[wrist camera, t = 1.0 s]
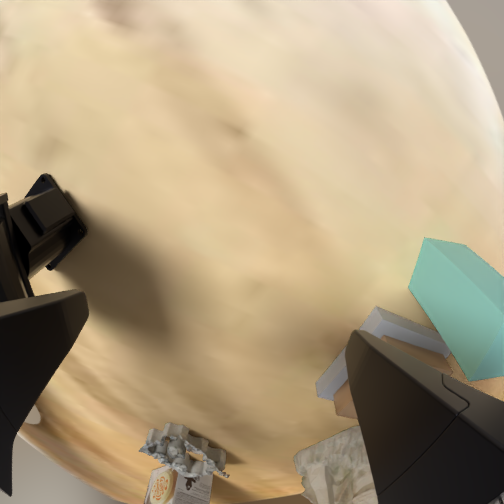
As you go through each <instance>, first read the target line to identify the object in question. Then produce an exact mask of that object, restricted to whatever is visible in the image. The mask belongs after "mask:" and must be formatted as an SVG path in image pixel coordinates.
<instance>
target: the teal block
mask: <svg viewBox="0 0 504 504" xmlns="http://www.w3.org/2000/svg"><path fill="white" fill-rule="evenodd" d="M408 288H409V290H410V291H411V292H412V294H413V295H414V297H415V298H416V300H417V301H418V302H419V304H420V305H421V307H422V308H423V310H424V311H425V313H426V314H427V315H428V317H429V318H430V320H431V321H432V323H433V324H434V326H435V327H436V329H437V330H438V332H439V334H440V335H441V337H442V338H443V340H444V341H445V343H446V344H447V346H448V348H449V349H450V351H451V352H452V354H453V356H454V357H455V359H456V361H457V362H458V364H459V366H460V367H461V369H462V371H463V372H464V374H465V376H466V377H467V379H468V381H476V380H483V379H489V378H495V377H500V376H504V277H503V276H502V275H501V274H499V273H498V272H497V271H496V270H495V269H494V268H493V267H491V266H490V265H489V264H488V263H487V262H485V261H484V260H483V259H482V258H481V257H479V256H478V255H477V254H476V253H475V252H473V251H472V250H471V249H470V248H468V247H467V246H466V245H463V244H458V243H453V242H447V241H442V240H436V239H431V238H425V237H424V241H423V244H422V247H421V251H420V254H419V257H418V260H417V263H416V266H415V269H414V272H413V275H412V278H411V281H410V284H409V286H408Z"/></svg>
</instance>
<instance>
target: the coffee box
mask: <svg viewBox="0 0 504 504" xmlns="http://www.w3.org/2000/svg"><path fill="white" fill-rule="evenodd" d="M212 480H213V474H211V475H210V476H209V475H208V474H206V475H203V477H201V476H197V477H184V476H182V475H181V474H179V473H178V472H177V471H176V470H175V469H173V468H170V467H168V466H167V465H166V466H164V467H161V468H158V469H155V470H152V473H151V477H150V481H149V484H148V488H147V493H146V496H145V501H144V504H209V503H210V495H211V488H212Z"/></svg>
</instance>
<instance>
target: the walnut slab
mask: <svg viewBox="0 0 504 504" xmlns="http://www.w3.org/2000/svg"><path fill="white" fill-rule="evenodd" d="M381 340H383V341H385V342H387V343H389V344H390V345H392V346H394V347H396V348H398V349H400V350H401V351H403V352H405V353H407V354H409V355H411V356H412V357H414V358H416V359H418V360H420V361H422V362H423V363H425V364H427V365H429V366H431V367H433V368H434V369H436V370H438V371H440V372H441V373H445V374H446V375H448V376H450V375H451V374H452V373H453V371H452V369H451V368H450V366H449V364H448V362H447V360H446V359H445V357H444V355H443V354H440V353H437V352H434V351H431V350H428V349H425V348H422V347H419V346H416V345H413V344H410V343H407V342H404V341H401V340H398V339H395V338H392V337H389V336H386V335H383V336H382V337H381ZM333 397H334V403H335V409H336V415H338V416H343V417H348V418H354V419H358V418H357V414H356V410H355V407H354V403H353V400H352V396H351V392H350V388H349V381H348V379H347V380H346V381H345V382H344V384H343V385H342V386H341V387H340V388H339V389H338V390H337V391H336V393H335V394H334V395H333Z"/></svg>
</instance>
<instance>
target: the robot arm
mask: <svg viewBox="0 0 504 504" xmlns="http://www.w3.org/2000/svg"><path fill="white" fill-rule="evenodd" d="M44 178H45V181H44ZM7 201H8V196H7V193H3V194H0V490H1V491H2V492H4V493H5V494H7V495H8V496H10V497H11V496H12V450H13V442H14V439H15V436H16V434H17V432H18V431H19V429H20V427H21V426H22V424H23V422H24V421H25V419H26V417H27V416H28V414H29V412H30V411H31V409H32V407H33V406H34V404H35V402H36V401H37V399H38V398H39V396H40V394H41V393H42V391H43V390H44V388H45V387H46V385H47V384H48V382H49V381H50V379H51V377H52V376H53V374H54V373H55V371H56V370H57V368H58V367H59V365H60V364H61V363H62V361H63V360H64V358H65V357H66V355H67V354H68V352H69V351H70V349H71V348H72V346H73V345H74V343H75V341H76V339H77V337H78V335H79V334H80V332H81V330H82V328H83V326H84V325H85V323H86V321H87V319H88V316H89V309H88V304H87V298H86V294H85V292H84V291H80V290H76V289H74V290H68V291H62V292H57V293H51V294H46V295H40V296H34V293H33V290H32V288H31V285H30V282H29V280H30V279H31V278H32V277H33V276H34V275H35V274H37V273H38V272H39V271H40V270H41V269H43V268H44V267H46V268H47V269H48V270H50V271H52V270H53V269H54V268H55V267H56V266H57V265H58V264H59V263H60V262H61V261H62V260H63V259H64V258H65V256H66V255H67V254H68V253H69V252H70V251H71V250H72V249H73V248H74V247H75V246H76V245H77V244H78V243H79V242H80V241H81V240H82V239H83V238H84V237H85V236H86V235H87V232H88V231H87V228H86V226H85V225H84V224H83V222H82V221H81V220H80V218H79V217H78V216H77V214H76V213H75V212H74V210H73V209H72V207H71V206H70V205H69V203H68V202H67V200H66V199H65V198H64V196H63V195H62V193H61V192H60V190H59V189H58V188H57V186H56V185H55V183H54V182H53V180H52V179H51V177H50V176H49V175H48V174H47V173H45V174H42V175H41V176H40V177H39V178H38V179H37V181H36V182H35V184H34V185H33V186H32V188H31V189H30V190H29V192H28V193H27V195H26V196H25V198H24V199H22V200H20V201H18V202H16V203H14V204H12V205H10V206H8V202H7ZM80 229H81V230H82V232H83V233H81V231H80ZM345 361H346V368H347V374H348V381H349V388H350V392H351V396H352V400H353V403H354V407H355V410H356V414H357V418H358V421H359V425H360V429H361V433H362V437H363V441H364V445H365V448H366V452H367V456H368V461H369V465H370V469H371V473H372V477H373V482H374V486H375V490H376V495H377V500H378V504H504V402H503V401H501V400H499V399H496V398H494V397H492V396H490V395H487V394H485V393H483V392H481V391H479V390H476V389H474V388H472V387H470V386H468V385H466V384H464V383H462V382H460V381H458V380H456V379H454V378H452V377H450V376H448V375H446V374H445V373H441V372H440V371H438V370H436V369H434V368H433V367H431V366H429V365H427V364H425V363H423V362H422V361H420V360H418V359H416V358H414V357H412V356H411V355H409V354H407V353H405V352H403V351H401V350H400V349H398V348H396V347H394V346H392V345H390V344H389V343H387V342H385V341H383V340H381V339H380V338H378V337H376V336H374V335H372V334H371V333H369V332H367V331H365V330H354V331H353V332H352V333H351V336H350V339H349V341H348V344H347V346H346V349H345Z"/></svg>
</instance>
